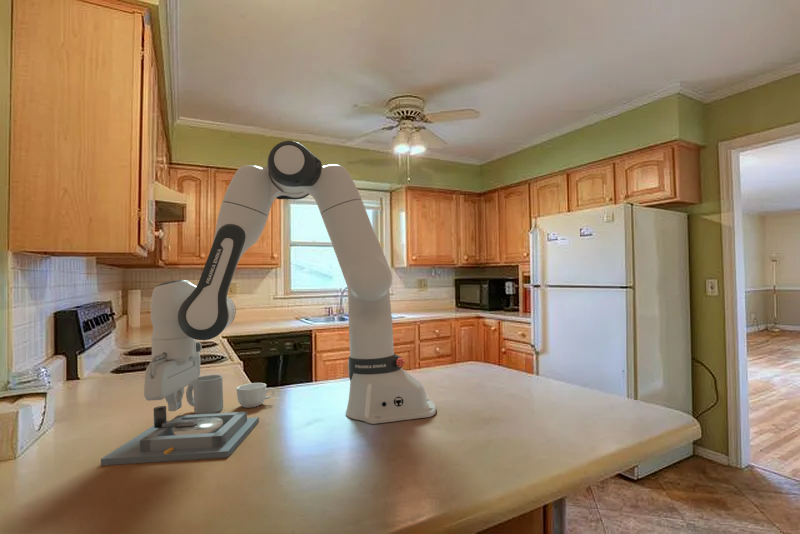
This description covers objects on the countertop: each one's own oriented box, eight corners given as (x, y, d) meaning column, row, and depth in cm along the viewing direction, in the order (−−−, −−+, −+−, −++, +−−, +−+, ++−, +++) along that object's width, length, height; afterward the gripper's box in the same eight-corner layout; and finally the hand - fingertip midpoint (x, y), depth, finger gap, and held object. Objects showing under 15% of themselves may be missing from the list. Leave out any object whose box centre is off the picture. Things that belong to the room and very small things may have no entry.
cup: (213, 415, 112) (212, 380, 112) (178, 415, 113) (177, 381, 114) (228, 407, 119) (227, 374, 120) (195, 407, 121) (194, 375, 121)
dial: (229, 425, 99) (228, 397, 99) (212, 441, 89) (211, 410, 89) (166, 428, 98) (165, 401, 99) (142, 445, 88) (141, 414, 89)
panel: (258, 422, 105) (258, 407, 105) (228, 457, 84) (227, 439, 84) (157, 428, 104) (157, 413, 104) (100, 465, 83) (100, 447, 83)
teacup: (234, 411, 115) (233, 390, 116) (240, 403, 123) (239, 384, 123) (273, 407, 117) (272, 387, 117) (276, 399, 125) (275, 381, 125)
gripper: (165, 356, 91) (167, 423, 90) (204, 342, 111) (206, 397, 111) (134, 358, 90) (136, 425, 90) (179, 344, 111) (180, 398, 110)
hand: (175, 409), depth 100 cm, fingers closed
